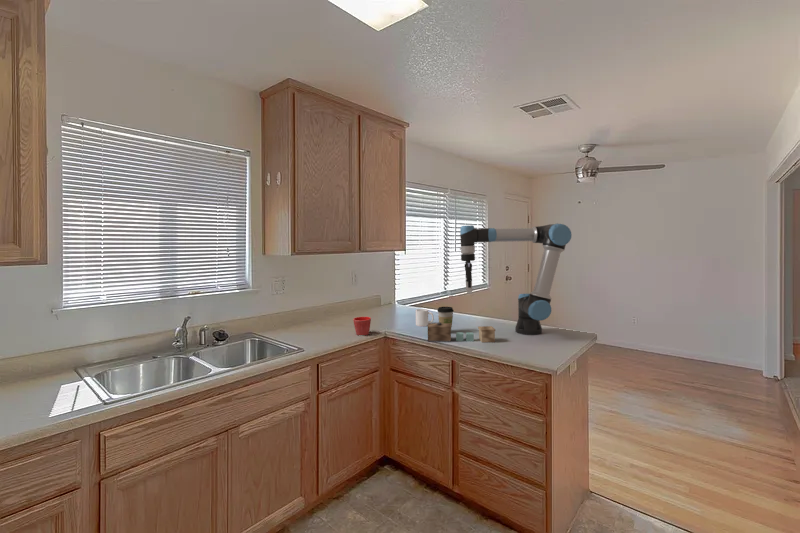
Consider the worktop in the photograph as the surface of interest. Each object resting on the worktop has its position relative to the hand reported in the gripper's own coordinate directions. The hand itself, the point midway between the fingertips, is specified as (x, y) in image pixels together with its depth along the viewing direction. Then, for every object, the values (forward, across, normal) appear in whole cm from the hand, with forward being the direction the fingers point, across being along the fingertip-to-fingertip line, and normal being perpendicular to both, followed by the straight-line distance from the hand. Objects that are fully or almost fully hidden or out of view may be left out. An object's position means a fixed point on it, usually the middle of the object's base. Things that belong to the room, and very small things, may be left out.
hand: (469, 291), depth 212 cm
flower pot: (+26, -9, -64) cm, 70 cm away
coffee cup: (+27, -15, -14) cm, 34 cm away
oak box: (+27, +2, +9) cm, 29 cm away
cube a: (+27, +2, 0) cm, 27 cm away
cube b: (+27, +2, -6) cm, 28 cm away
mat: (+26, +2, -17) cm, 32 cm away
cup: (+27, -33, -28) cm, 51 cm away
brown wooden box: (+26, +2, -17) cm, 31 cm away
